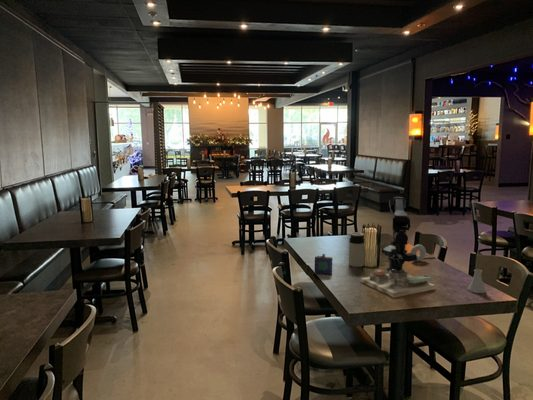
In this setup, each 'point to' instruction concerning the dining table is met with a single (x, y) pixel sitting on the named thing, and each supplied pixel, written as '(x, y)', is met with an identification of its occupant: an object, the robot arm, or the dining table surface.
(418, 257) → the donut
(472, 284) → the flask
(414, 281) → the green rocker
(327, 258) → the flask
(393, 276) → the toggle lever
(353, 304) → the dining table surface
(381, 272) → the terracotta button
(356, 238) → the travel mug
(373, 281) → the control panel
